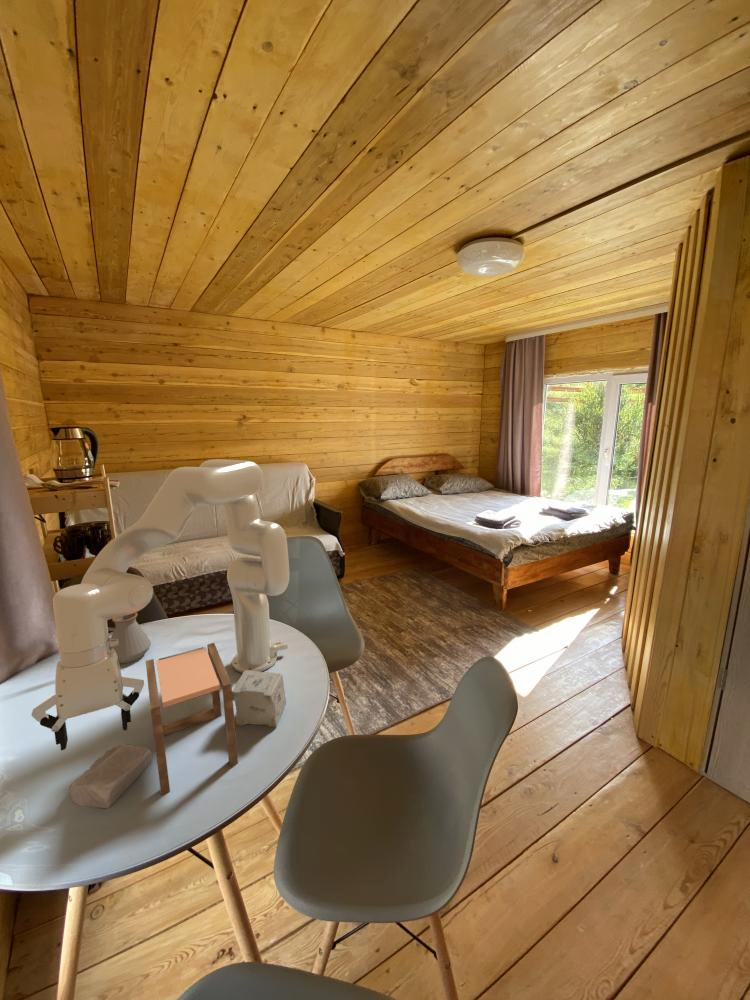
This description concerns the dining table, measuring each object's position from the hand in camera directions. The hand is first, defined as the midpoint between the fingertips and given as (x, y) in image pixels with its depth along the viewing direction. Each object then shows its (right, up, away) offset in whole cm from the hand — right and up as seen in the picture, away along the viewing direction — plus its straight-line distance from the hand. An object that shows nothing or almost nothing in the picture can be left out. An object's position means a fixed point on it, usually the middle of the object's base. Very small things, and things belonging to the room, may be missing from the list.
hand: (95, 735), depth 79 cm
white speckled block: (+26, -7, +18) cm, 33 cm away
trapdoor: (+14, +7, +8) cm, 17 cm away
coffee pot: (-24, -3, +42) cm, 48 cm away
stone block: (+2, -10, +2) cm, 11 cm away
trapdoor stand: (+15, -8, +10) cm, 19 cm away
